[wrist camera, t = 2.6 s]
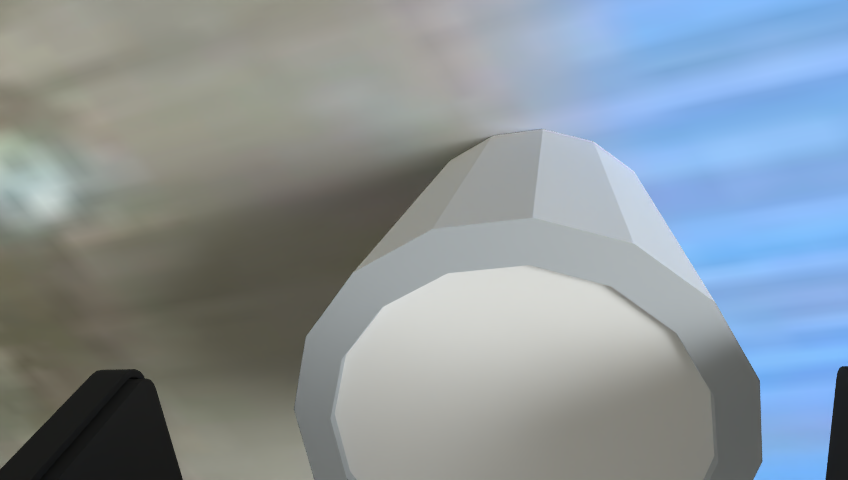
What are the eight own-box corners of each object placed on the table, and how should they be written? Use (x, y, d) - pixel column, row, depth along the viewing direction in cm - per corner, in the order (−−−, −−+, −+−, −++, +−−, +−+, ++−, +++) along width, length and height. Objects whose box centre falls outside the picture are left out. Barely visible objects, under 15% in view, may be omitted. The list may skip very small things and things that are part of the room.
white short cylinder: (449, 404, 20) (393, 639, 13) (341, 159, 18) (213, 300, 11) (726, 337, 18) (817, 577, 11) (641, 52, 16) (694, 150, 9)
